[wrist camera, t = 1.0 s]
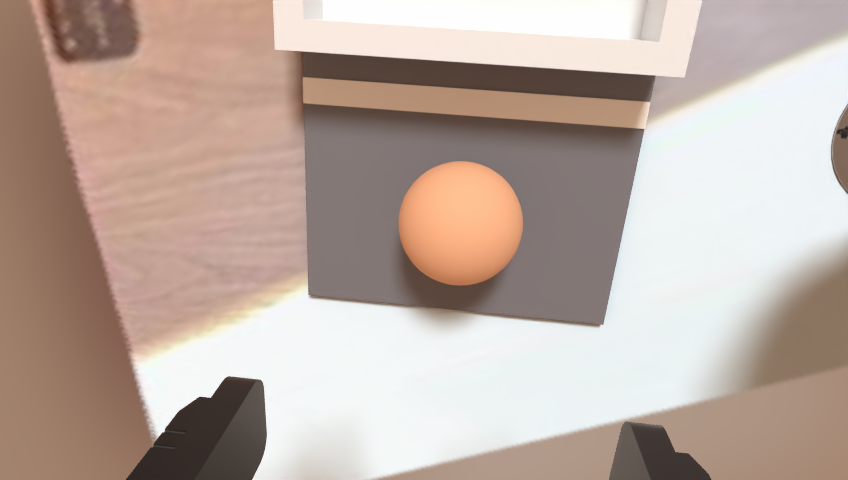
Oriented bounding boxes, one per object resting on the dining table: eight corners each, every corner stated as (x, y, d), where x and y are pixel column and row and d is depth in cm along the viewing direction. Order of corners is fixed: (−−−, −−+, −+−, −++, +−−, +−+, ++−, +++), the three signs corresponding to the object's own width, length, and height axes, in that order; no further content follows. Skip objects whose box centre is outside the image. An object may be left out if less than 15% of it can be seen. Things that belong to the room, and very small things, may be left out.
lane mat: (765, -467, 18) (773, -480, 18) (601, 320, 29) (603, 325, 29) (293, -467, 19) (288, -479, 19) (310, 291, 31) (308, 295, 30)
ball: (526, 153, 26) (536, 186, 21) (512, 260, 28) (518, 314, 23) (409, 144, 26) (391, 174, 21) (404, 250, 29) (387, 301, 23)
